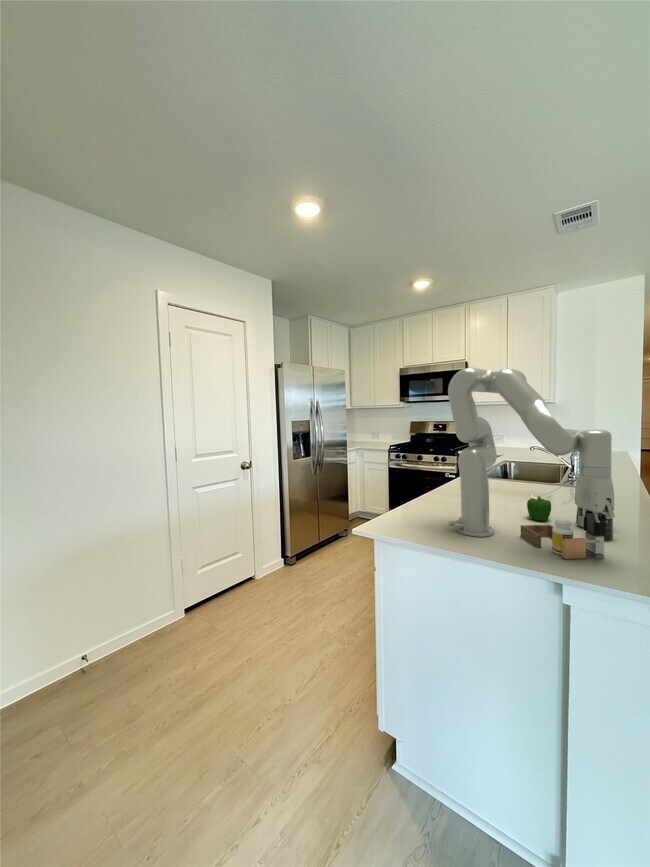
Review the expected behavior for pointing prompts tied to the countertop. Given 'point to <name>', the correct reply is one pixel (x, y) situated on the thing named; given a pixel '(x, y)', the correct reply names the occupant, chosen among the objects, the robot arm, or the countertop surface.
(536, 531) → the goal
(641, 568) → the countertop surface
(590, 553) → the rail
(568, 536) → the supplement bottle
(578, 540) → the carriage
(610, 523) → the supplement bottle
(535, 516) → the bell pepper
